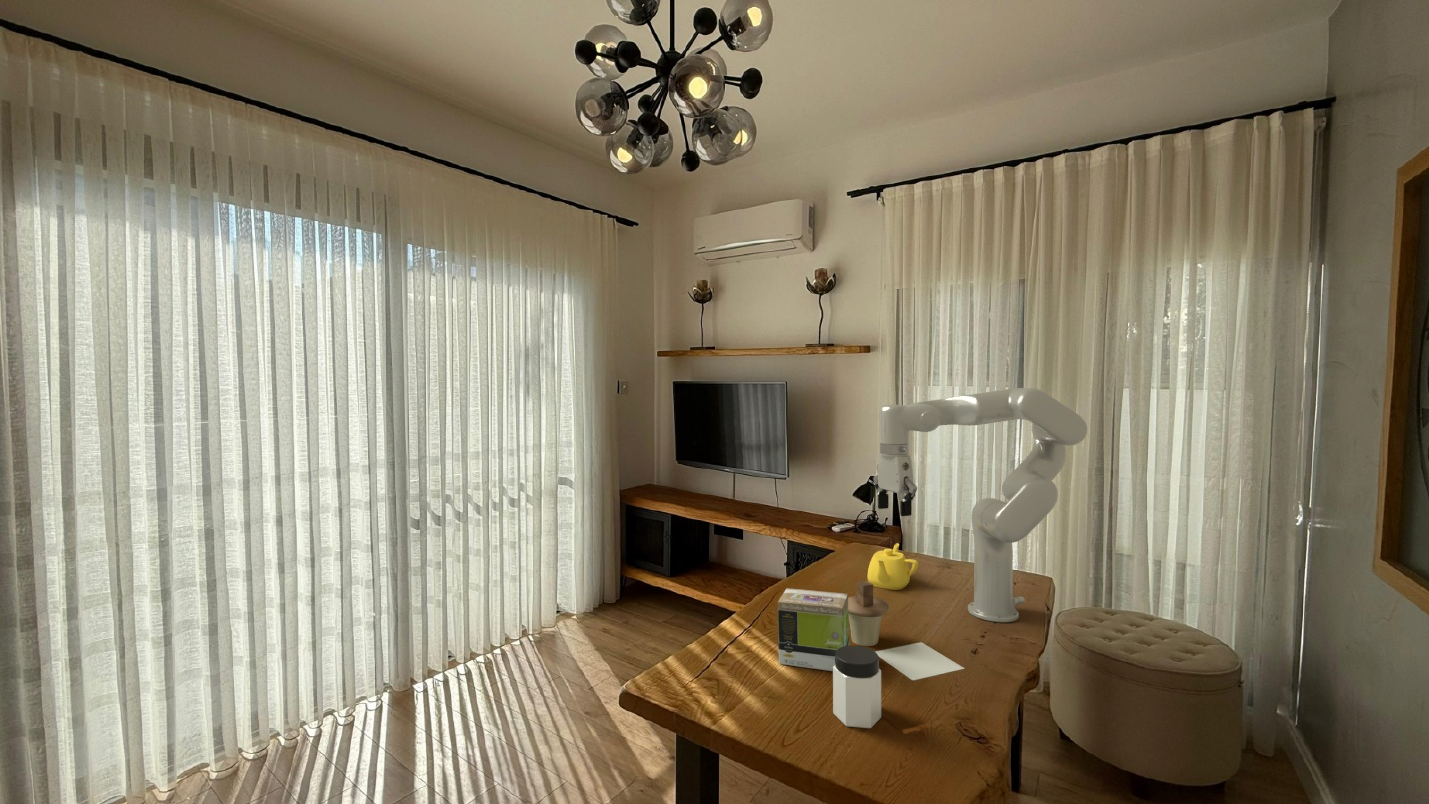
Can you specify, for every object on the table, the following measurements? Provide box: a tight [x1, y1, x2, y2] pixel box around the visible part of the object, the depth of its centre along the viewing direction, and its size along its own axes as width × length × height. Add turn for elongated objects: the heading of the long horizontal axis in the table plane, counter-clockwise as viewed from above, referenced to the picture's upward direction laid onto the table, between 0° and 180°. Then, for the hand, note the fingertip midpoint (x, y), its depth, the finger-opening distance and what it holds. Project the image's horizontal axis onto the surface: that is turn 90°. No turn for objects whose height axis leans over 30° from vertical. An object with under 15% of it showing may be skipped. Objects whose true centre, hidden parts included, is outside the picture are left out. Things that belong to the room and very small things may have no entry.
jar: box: [832, 644, 882, 729], centre depth 111 cm, size 9×8×12 cm
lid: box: [848, 580, 889, 617], centre depth 142 cm, size 11×11×6 cm
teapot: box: [866, 542, 919, 591], centre depth 184 cm, size 22×16×11 cm
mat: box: [875, 641, 965, 681], centre depth 132 cm, size 14×14×1 cm
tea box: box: [777, 587, 850, 672], centre depth 134 cm, size 15×10×15 cm, turn 71°
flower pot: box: [848, 613, 884, 647], centre depth 142 cm, size 9×9×9 cm
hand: (894, 512), depth 159 cm, fingers open, 9 cm apart
